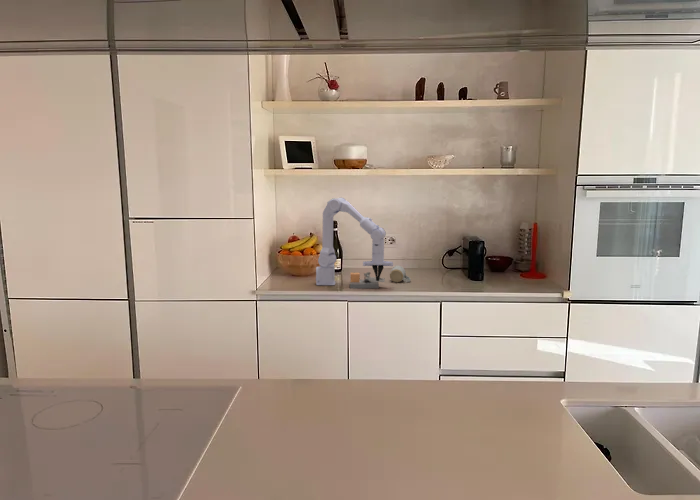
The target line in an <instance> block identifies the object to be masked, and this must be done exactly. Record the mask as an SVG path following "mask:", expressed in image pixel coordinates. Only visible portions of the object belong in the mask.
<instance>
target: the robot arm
mask: <svg viewBox="0 0 700 500" xmlns="http://www.w3.org/2000/svg"><path fill="white" fill-rule="evenodd" d="M341 212H343V213H348V214H349V215H350V216H351V217H352V218H354V219H355V220H356V221H357V222H358V223H359V226H360V228H362V229H363V230H364V231H365V232H366V233H367V234H369V235H370V239H371V240H372V243H371V253H372V254H371V260H369V261H368V260H367V261H362V267H366V266H367V267H372V270H373V272H374V275H375V276H374V277H376V281H379V278H381V275H382V272H383V269H384V267H394V262H393V261H385V237H386V234H387V233H386V231H385V229H384V228H383V227H380V225H378V224H376V222H374V221H373V218H372V217H368V216H367V217H366V216H364V215H363V214H361V213H360V212H359V211H358V210H357V209H356V208H355V207H354V206H353V205H352V204H351V203H350V202H349V200H346V198H344V197H335V198H332V199H330V200H328V201H327V202H326V206H325V207H324V209H323V211H322V237H321V238H322V239H321V240H322V245H321V246H322V247H321V250H320V251H319V257H318V258H317V262H318V263H317V264H319V266H316V267H315V282H316V284H315V285H316V286H335V285H336V283H337V282H336V280H335V279H336V277H335V267H336V266H335V263H336V262H337V255H336V253H335V252H336V250H335V248H334V216H336V215H337V214H338V213H341Z"/></svg>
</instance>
